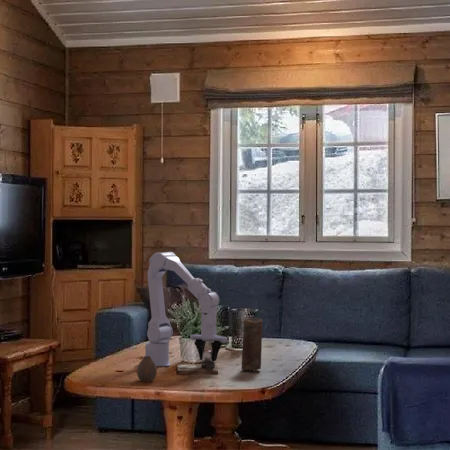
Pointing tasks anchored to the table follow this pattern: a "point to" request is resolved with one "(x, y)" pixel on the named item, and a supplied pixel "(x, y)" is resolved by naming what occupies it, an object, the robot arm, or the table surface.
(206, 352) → the knob
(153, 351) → the robot arm
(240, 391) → the table surface
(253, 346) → the candle
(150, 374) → the vase
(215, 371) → the base board
